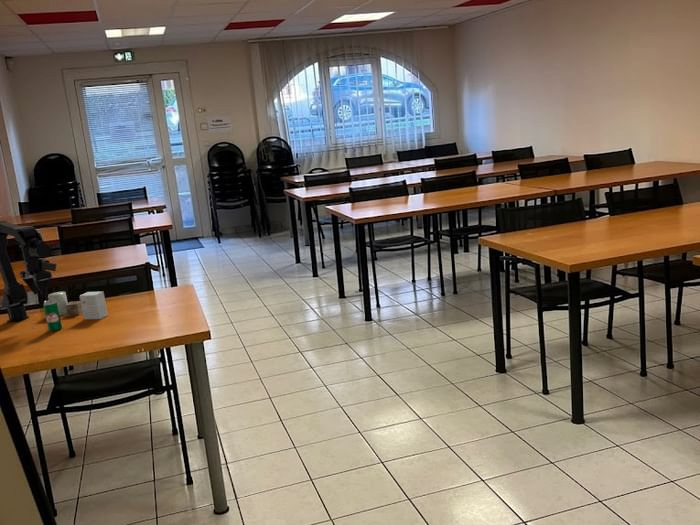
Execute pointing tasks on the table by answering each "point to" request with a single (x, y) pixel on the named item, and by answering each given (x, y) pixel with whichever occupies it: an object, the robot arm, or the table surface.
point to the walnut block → (74, 308)
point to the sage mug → (60, 301)
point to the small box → (93, 305)
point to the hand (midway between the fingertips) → (40, 295)
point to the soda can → (52, 315)
